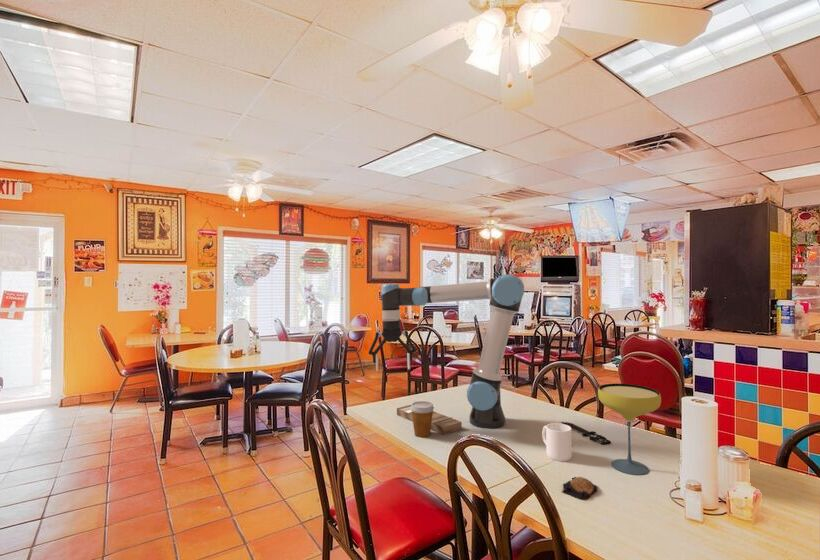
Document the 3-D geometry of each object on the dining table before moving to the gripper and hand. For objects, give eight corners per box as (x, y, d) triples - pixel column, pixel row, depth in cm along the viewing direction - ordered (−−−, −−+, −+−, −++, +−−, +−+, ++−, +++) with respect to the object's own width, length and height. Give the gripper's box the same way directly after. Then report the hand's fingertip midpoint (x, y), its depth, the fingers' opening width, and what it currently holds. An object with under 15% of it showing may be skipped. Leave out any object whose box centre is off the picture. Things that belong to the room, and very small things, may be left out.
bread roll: (572, 480, 127) (572, 468, 127) (601, 489, 121) (601, 477, 121) (558, 493, 119) (557, 481, 119) (587, 504, 113) (587, 490, 113)
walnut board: (461, 429, 170) (461, 421, 170) (443, 435, 164) (443, 427, 164) (414, 410, 195) (413, 403, 195) (396, 414, 189) (396, 407, 189)
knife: (558, 423, 176) (558, 420, 176) (571, 422, 177) (571, 418, 177) (598, 446, 151) (598, 443, 151) (613, 444, 153) (613, 441, 153)
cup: (558, 463, 137) (558, 433, 137) (534, 450, 148) (533, 422, 148) (577, 458, 141) (576, 429, 141) (551, 446, 152) (551, 418, 152)
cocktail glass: (598, 452, 146) (596, 381, 145) (656, 459, 139) (655, 385, 139) (600, 474, 129) (599, 395, 129) (667, 485, 122) (666, 400, 122)
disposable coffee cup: (434, 430, 169) (434, 401, 169) (433, 439, 160) (433, 408, 160) (411, 429, 170) (411, 400, 170) (409, 438, 161) (409, 408, 161)
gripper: (419, 317, 180) (420, 366, 180) (362, 320, 178) (363, 369, 178) (421, 319, 173) (423, 369, 173) (361, 322, 171) (363, 373, 171)
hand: (393, 369), depth 175 cm, fingers open, 13 cm apart
